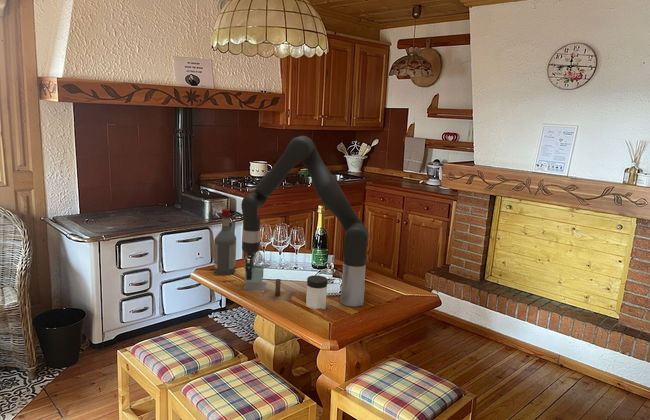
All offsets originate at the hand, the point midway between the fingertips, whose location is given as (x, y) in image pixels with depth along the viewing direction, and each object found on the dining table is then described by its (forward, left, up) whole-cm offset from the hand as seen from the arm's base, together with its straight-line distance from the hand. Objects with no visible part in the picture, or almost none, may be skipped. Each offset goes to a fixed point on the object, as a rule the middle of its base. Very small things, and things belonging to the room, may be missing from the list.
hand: (249, 276), depth 213 cm
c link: (-2, 0, -1) cm, 2 cm away
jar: (-29, +17, -5) cm, 34 cm away
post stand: (-13, +10, -5) cm, 17 cm away
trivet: (-2, 0, -5) cm, 6 cm away
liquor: (+14, -18, -5) cm, 24 cm away
